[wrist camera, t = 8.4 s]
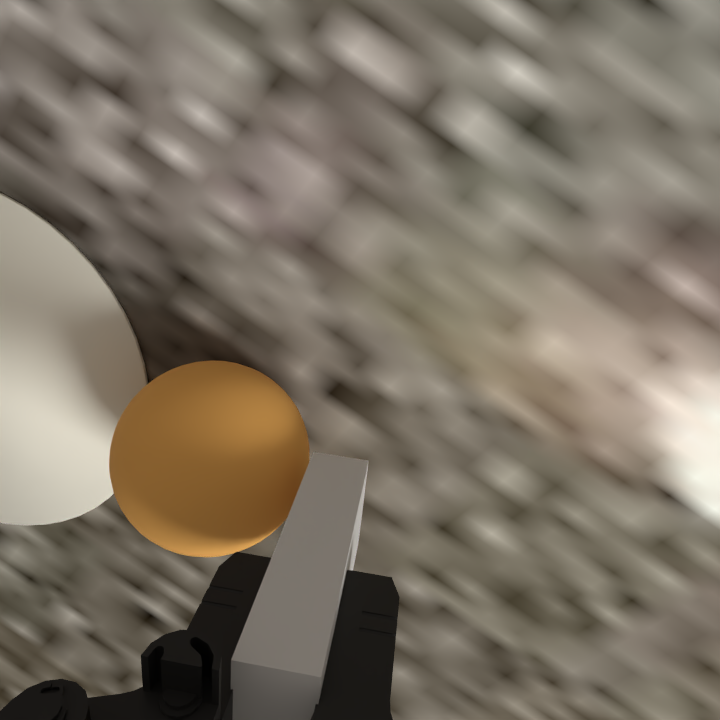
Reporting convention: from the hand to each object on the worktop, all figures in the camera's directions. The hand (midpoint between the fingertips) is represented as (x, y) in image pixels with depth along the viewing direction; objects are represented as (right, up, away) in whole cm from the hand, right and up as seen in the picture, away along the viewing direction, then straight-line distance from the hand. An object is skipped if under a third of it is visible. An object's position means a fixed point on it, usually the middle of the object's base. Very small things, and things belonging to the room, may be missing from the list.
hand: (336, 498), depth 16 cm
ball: (-4, +1, +1) cm, 4 cm away
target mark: (-13, +4, +4) cm, 14 cm away
